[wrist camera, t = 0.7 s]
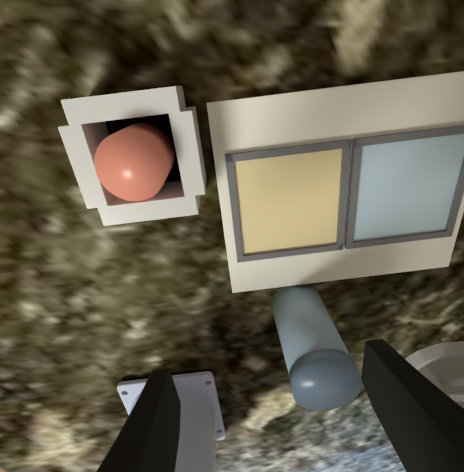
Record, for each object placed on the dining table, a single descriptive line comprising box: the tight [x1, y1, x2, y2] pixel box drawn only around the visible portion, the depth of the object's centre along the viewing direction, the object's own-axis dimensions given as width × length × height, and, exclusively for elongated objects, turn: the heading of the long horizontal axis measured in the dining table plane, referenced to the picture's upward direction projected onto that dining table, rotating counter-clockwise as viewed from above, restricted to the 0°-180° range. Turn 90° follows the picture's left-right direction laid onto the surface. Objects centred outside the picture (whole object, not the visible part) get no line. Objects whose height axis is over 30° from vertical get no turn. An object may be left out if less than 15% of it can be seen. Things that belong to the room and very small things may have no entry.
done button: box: [94, 123, 174, 201], centre depth 14 cm, size 3×3×3 cm
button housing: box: [58, 86, 206, 226], centre depth 15 cm, size 6×6×3 cm
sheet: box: [206, 71, 464, 293], centre depth 18 cm, size 12×15×1 cm
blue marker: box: [271, 284, 363, 410], centre depth 19 cm, size 4×4×7 cm
